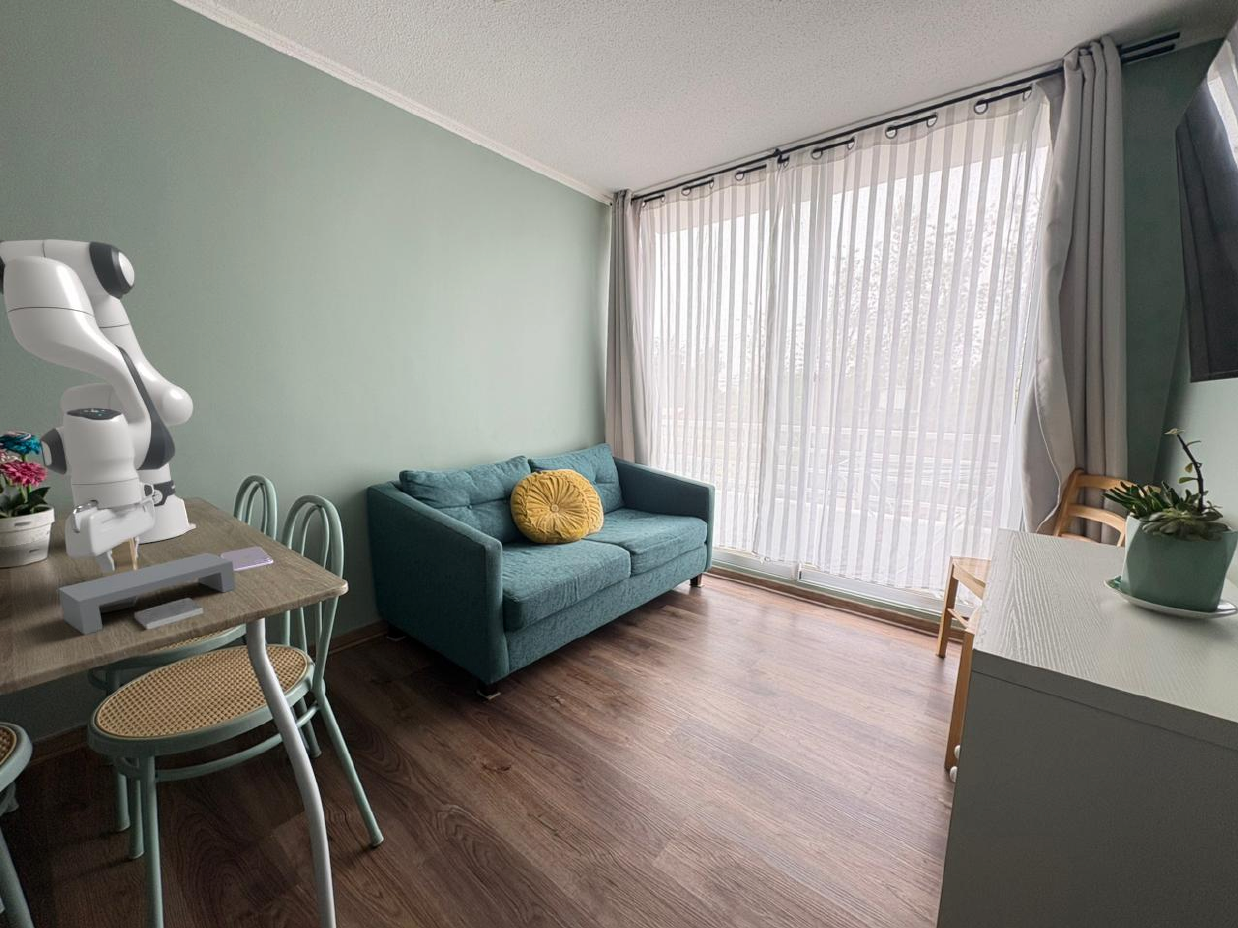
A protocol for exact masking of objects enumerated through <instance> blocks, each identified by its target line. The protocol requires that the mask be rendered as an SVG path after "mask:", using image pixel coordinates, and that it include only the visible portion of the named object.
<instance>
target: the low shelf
mask: <svg viewBox="0 0 1238 928" xmlns="http://www.w3.org/2000/svg"><path fill="white" fill-rule="evenodd" d="M197 579H198V582H199V583H200V584H201V585H205V586H208V587H209V588H212V589H214V590H216V591H219V592H221V593H226V592H230V591H233V590H236V589H237V586H236V578H235V571H234V569H233V561H230V560H228V559H225V558H222V557H221V556H219V555H216V554H214V553H210V552H204V553H200V554H196V555H192V556H188V557H183V558H180V559H175V560H171V561H166V562H163V563H158V564H153V565H150V566H145V567H142V568H138V569H137V570H133V571H128V572H124V573H120V574H116V575H112V576H108V577H100V578H96V579H91V580H88V581H82V582H79V583H74V584H70V585H66V586H62V587H58V588H57V590H58V595H59V601H60V605H61V612H62V616H63V621H65V622H66V623H67V624H69V625H70V626H72V627H73V628H75V629H76V631H79V632H80V633H81V634H83V635H84V636H86V635H89V634H93V633H95V632H99V631H102V630H104V628H103V624H102V622H103V621H102V615H101V613H100V611H99V605H103V604H106V603H110V602H114V601H117V600H121V599H125V598H128V597H132V596H136V595H139V596H140V595H143V594H146V593H150V592H154V591H157V590H162V589H164V588H168V587H172V586H175V585H179V584H183V583H187V582H192V581H193V580H197Z"/></svg>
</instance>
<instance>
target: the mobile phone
mask: <svg viewBox="0 0 1238 928" xmlns="http://www.w3.org/2000/svg"><path fill="white" fill-rule="evenodd" d="M220 557H222V558H225V559H228V560H230V561H233V569H234V572H238V571H239V572H240V571H243V570H244V571H245V570H247V569H253V568H257V567H261V566H267V565H270V564H273V563H274V559H273V558H271V557H270V555H268V553H267V552H266V551H265V550H264V549H263V548H262V547H260V546H250V547H247V548H242V549H241V548H240V549H237V550H235V549H234V550H231V551H226V552H222V553H221V554H220Z"/></svg>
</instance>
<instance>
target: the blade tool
mask: <svg viewBox="0 0 1238 928" xmlns="http://www.w3.org/2000/svg"><path fill="white" fill-rule="evenodd" d="M110 555H111V557H112V559H113V561H117V567H118V568H117V569H116V570H114V571H113V572H110V573H103V576H104V577H108V576H112V575H116V574H120V573H124V572H128V571H133V570H137V569H139V567H138V560H137V558H136V553H135V547H134V540H133V538H130V539H128V540H126V541H124V542H122V544H120V545H118V546H116V547H114V548H112V554H110ZM139 597H140V594H139V595H136V596H132V597H128V598H125V599H121V600H117V601H114V602H110V603H106V604H103V605H99V611H100V614H104V613H109V612H114V611H119V610H123V609H124V610H125V609H129V608H133V607H135V605H136V603H137V600H138V599H139Z"/></svg>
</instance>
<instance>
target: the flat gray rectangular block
mask: <svg viewBox="0 0 1238 928" xmlns="http://www.w3.org/2000/svg"><path fill="white" fill-rule="evenodd" d="M133 614H134V618H135V620H136V621H137V622H138V623H139V624H140V625H141V626H142V627H144V628H145V629H146V630H151V629H155V628H158V627H161V626H165V625H169V624H171V623H172V624H173V623H174V622H175V623H176V622H179V621H182V620H185V619H187V618H192V617H195V616H198V615H201V614H204V608H203V607H202V606H201V605H200V604H198V603H196V602H195V601H194V599H191V598H190V597H185V598H183V599H178V600H176V601H175V600H174V601H171V602H167V603H164V604H161V605H157V606H154V607H150V608H146V609H143V610H139V611H135V612H134V613H133Z"/></svg>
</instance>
